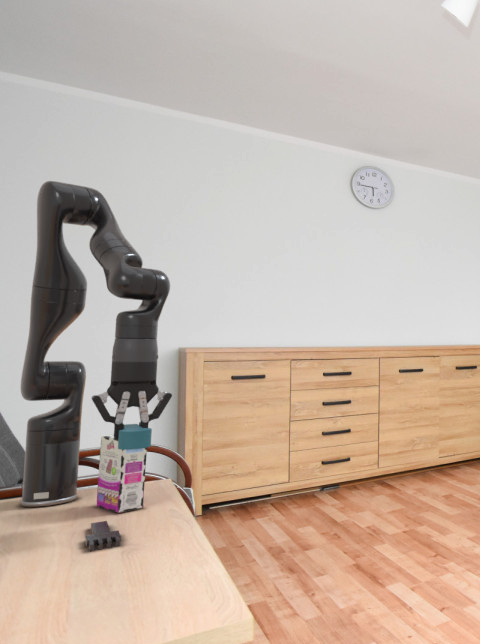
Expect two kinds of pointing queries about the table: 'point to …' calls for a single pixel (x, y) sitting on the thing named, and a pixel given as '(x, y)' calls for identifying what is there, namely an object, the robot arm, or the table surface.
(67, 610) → the table surface
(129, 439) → the teal mallet
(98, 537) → the fork
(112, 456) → the candy bar box
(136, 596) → the table surface
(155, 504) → the table surface
